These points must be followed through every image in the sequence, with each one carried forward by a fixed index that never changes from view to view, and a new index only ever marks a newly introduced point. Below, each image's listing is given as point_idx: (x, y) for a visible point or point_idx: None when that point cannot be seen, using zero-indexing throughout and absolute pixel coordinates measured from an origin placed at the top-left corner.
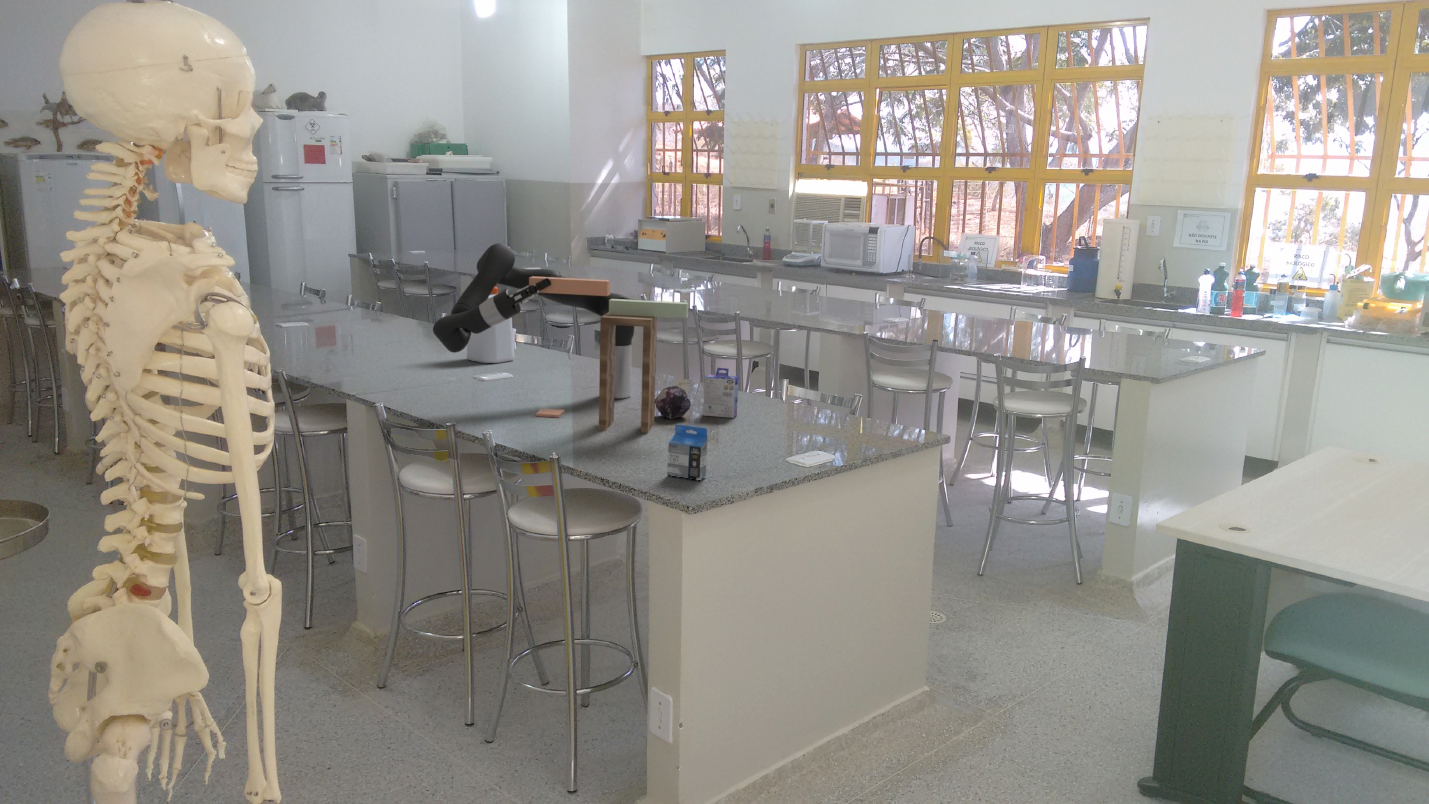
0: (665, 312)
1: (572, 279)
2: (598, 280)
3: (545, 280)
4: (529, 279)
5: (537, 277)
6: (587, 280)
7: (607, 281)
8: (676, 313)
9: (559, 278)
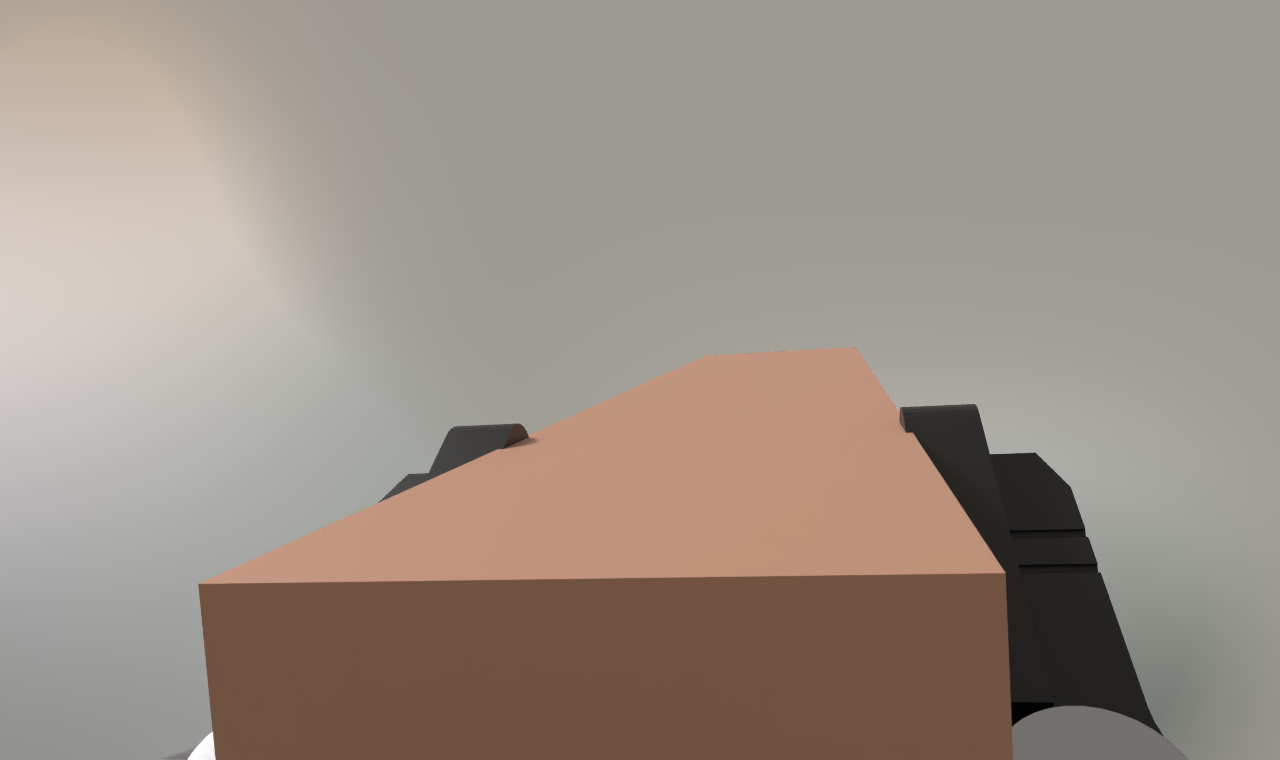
0: None
1: (828, 376)
2: (793, 356)
3: (1047, 473)
4: (1000, 677)
5: (713, 496)
6: (860, 359)
7: (854, 347)
8: None
9: (750, 403)
